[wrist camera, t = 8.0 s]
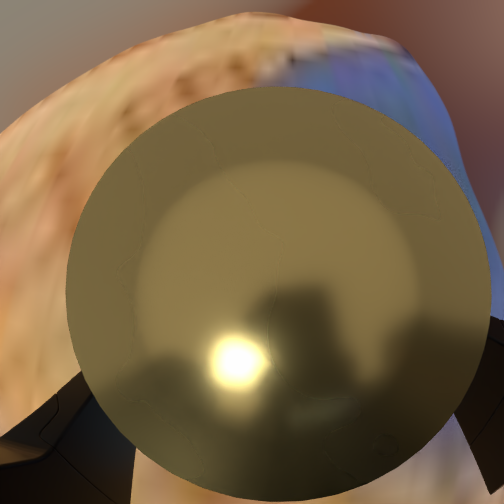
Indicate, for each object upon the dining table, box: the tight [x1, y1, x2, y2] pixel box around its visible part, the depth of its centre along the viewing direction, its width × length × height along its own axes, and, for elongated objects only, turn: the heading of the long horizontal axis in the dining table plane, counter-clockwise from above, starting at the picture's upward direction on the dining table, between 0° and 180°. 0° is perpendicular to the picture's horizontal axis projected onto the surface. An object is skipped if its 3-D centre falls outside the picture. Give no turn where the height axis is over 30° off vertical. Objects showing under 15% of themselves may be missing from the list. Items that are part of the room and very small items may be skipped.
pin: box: [66, 87, 491, 502], centre depth 10 cm, size 6×6×14 cm
